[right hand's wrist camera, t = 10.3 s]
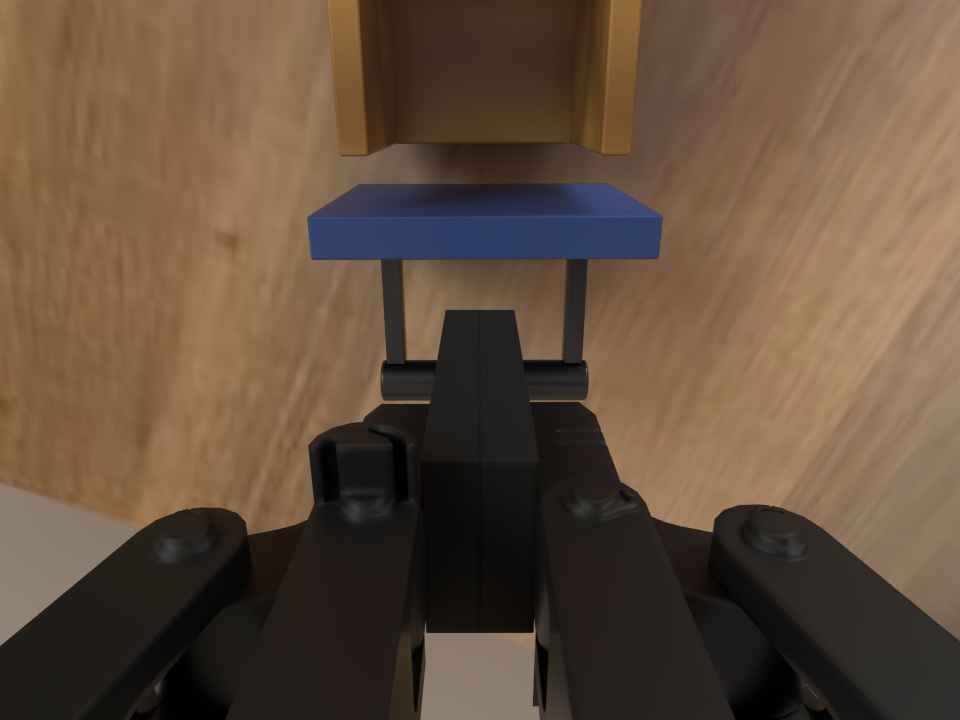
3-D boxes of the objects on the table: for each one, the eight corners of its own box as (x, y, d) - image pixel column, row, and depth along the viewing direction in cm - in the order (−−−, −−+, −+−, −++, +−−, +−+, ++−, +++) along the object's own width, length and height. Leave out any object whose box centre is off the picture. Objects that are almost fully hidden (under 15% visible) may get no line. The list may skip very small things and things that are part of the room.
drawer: (598, 341, 27) (642, 429, 20) (369, 342, 27) (327, 430, 20) (649, -433, 19) (762, -792, 11) (316, -432, 19) (208, -789, 11)
